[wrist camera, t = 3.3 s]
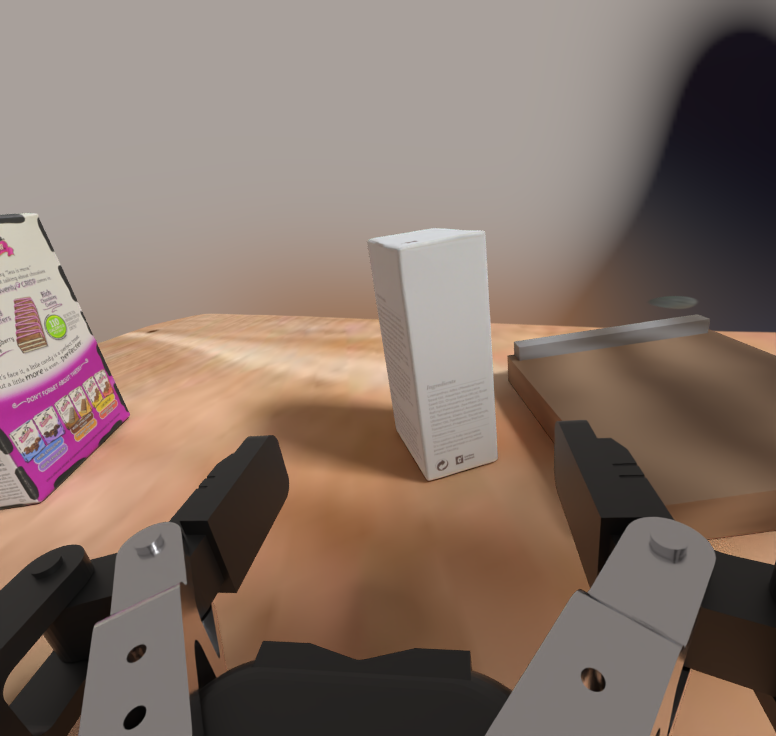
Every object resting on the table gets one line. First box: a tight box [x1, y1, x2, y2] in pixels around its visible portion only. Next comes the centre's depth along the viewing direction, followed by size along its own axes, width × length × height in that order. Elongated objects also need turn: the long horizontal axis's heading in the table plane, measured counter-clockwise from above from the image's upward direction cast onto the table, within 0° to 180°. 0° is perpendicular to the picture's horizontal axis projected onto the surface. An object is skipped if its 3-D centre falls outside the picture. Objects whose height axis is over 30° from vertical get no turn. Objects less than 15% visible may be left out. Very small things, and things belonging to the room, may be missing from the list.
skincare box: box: [368, 228, 498, 481], centre depth 22 cm, size 6×4×12 cm
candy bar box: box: [0, 213, 130, 510], centre depth 27 cm, size 11×5×16 cm, turn 5°
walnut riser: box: [508, 314, 776, 540], centre depth 23 cm, size 14×16×3 cm
